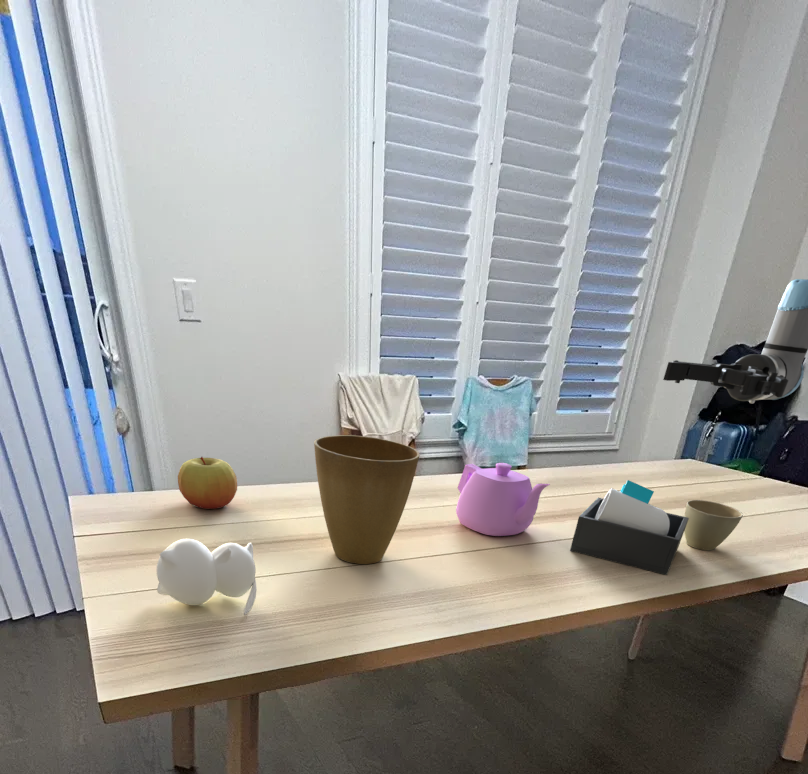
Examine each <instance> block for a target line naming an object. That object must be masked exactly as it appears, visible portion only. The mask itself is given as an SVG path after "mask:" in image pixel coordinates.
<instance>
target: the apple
mask: <svg viewBox="0 0 808 774" xmlns="http://www.w3.org/2000/svg"><path fill="white" fill-rule="evenodd" d="M177 485H178V489H179V490H178V491H179V492H180V494H181V495H182V497H183V498H184V499H185V500H186V501H187V502H188V503H189V504H190V505H192V506H193V507H195V508H199V509H204V510H218V509H222V508H223V507H226V506H228V505H229V504H231V502H232V501H233V499H234V498H235V496H236V494H237V491H238V478H237V475H236V473H235V471H234V469H233V468H232V466H231V465H230V464H229V463H228V462H226V461H225V460H222V459H219V458H215V457H203V456H201V457H194V458H190V459H188V460H187V461H186V460H185V461H184V462H183V463H182V465H181V466H180V468H179V471H178V474H177Z"/></svg>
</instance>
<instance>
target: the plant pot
mask: <svg viewBox="0 0 808 774" xmlns="http://www.w3.org/2000/svg"><path fill="white" fill-rule="evenodd" d="M313 446H314V447H313V448H314V460H315V468H316V477H317V484H318V490H319V496H320V502H321V506H322V512H323V516H324V520H325V525H326V529H327V534H328V536H329V539H330V543H331V546H332V549H333V552H334V555H335V556H336V557H337V558H338V559H340V560H341V561H344V562H347V563H350V564H358V565H371V564H376V563H379V562H380V561H382V559H383V558H384V555H385V554H386V552H387V550H388V547H389V546H390V543H391V542H392V539H393V537H394V535H395V533H396V531H397V528H398V526H399V524H400V520H401V518H402V516H403V513H404V510H405V508H406V504H407V502H408V498H409V496H410V492H411V489H412V485H413V483H414V478H415V475H416V471H417V467H418V464H419V459H420V456H421V454H420V452H419V451H418V450H417V449H415V448H414V447H412V446H410V445H406V444H404V443H401V442H397V441H394V440H389V439H384V438H379V437H372V436H363V435H351V434H342V435H339V434H338V435H337V434H336V435H327V436H321V437H318V438H316V439H315V440H314V441H313Z"/></svg>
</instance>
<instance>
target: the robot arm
mask: <svg viewBox="0 0 808 774" xmlns="http://www.w3.org/2000/svg"><path fill="white" fill-rule="evenodd" d="M807 352H808V279H804V278H796V279H795V278H794V279H793V280H791V281H790V282H789V283H788V284H787V286H786V288H785V290H784V292H783V294H782V297H781V299H780V301H779V304H778V305H777V310H776V313H775V315H774V319H773V321H772V324H771V327H770V330H769V332H768V335H767V339H766V341H765V343H764V346H763V349H762V351H761V354H760V353H757V354H756V353H751V354H747V355H744V356H741V357H740V358H739V359H737V360H736V361H735V362H734V363H731V364H726V363H717V364H715V363H711V364H710V363H701V362H699V363H698V362H688V361H679V360H677V359H676V360H673V361H668V362H667V366H666V369H665V372H664V376H663V379H662V380H663V381H666V382H667V381H668V382H670V381H672V382H673V381H674V383H675V384H680V382H681V381H685V380H687V381H688V380H689V381H699V382H706V383H709V384H710V385H711V386H715V387H720V388H721V387H723V388H724V389H726V390H727V392H728V394H729V396H730V397H731V398H732V399H734V400H736V401H739V402H749V404H755V402H756V401H761V400H765V401H766V400H772V401H776V400H779V399H782V398H785V397H788V396H789V395H791V394H792V393H794V392H795V391H796V390H797V389H798V388H799V387H800V385H801V384H802V381H803V378H804V375H805V374H804V373H805V370H804V365H803V362H804V360H805V357H806V355H807Z"/></svg>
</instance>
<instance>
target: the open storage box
mask: <svg viewBox="0 0 808 774" xmlns="http://www.w3.org/2000/svg"><path fill="white" fill-rule="evenodd" d="M603 500H604V497H597V498H596V499H595V500H594V501H593V502H592V503H591V504H590V505H589V506H588V507H587V508H586V509H585V510H583V512H582V513H581V514H580V515H579V516H578V519H577V522H576V526H575V530H574V534H573V537H572V541H571V546H570V550H569V551H571V552H574V553H578V554H582V555H585V556H586V555H587V556H591V557H594V558H597V559H601V560H605V561H610V562H613V563H618V564H622V565H625V566H630V567H634V568H637V569H642V570H646V571H649V572H653V573H657V574H660V575H665V576H668V573H669V571H670V568H671V566H672V564H673V561H674V559H675V557H676V554H677V553H678V550H679V547H680V544H681V541H682V538H683V535H684V534H685V532H684V530H685V528H686V525H687V522H688V519H689V518H688V517H684V515H679V514H674V513H669V512H666V514H667V515H668V518H669V522H670V526H669V531H668V534H667V536H665V535H661V534H657V533H653V532H648V531H644V530H640V529H636V528H631V527H627V526H623V525H619V524H614V523H610V522H606V521H602V520H597V519H594V518H595V516H596V514H597V512H598V509H599V507H600V505H601V503H602V501H603Z"/></svg>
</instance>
